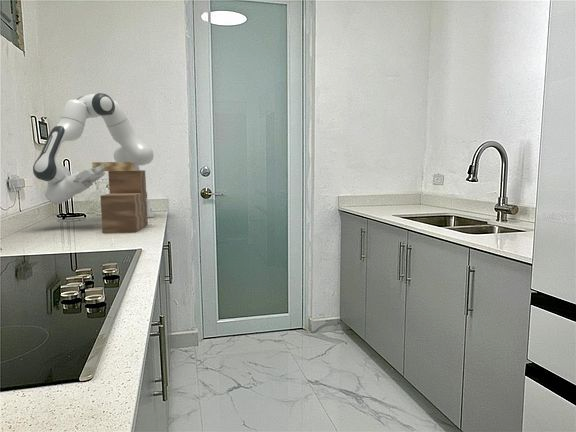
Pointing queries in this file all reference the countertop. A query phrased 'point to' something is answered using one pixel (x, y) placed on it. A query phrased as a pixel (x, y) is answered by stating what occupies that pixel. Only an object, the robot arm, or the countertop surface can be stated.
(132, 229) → the step shelf
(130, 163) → the tan rectangular block
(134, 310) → the countertop surface
